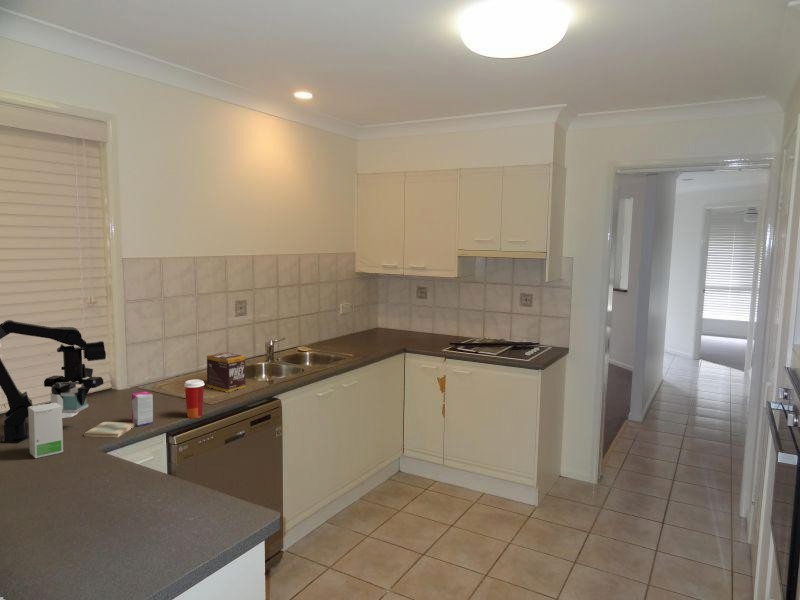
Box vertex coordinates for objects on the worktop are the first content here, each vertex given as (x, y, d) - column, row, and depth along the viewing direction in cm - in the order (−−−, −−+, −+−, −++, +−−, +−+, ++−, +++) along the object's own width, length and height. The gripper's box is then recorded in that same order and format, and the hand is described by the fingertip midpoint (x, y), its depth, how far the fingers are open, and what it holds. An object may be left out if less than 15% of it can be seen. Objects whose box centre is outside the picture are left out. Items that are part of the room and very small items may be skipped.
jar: (47, 416, 211) (46, 386, 209) (69, 410, 218) (67, 381, 216) (60, 420, 206) (59, 389, 205) (82, 414, 213) (80, 384, 212)
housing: (75, 413, 192) (74, 393, 191) (61, 412, 192) (60, 393, 191) (88, 406, 200) (87, 387, 199) (75, 406, 200) (74, 387, 199)
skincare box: (34, 459, 170) (32, 411, 169) (29, 453, 175) (26, 406, 173) (64, 452, 177) (62, 405, 175) (58, 446, 181) (56, 401, 179)
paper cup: (200, 411, 220) (199, 378, 218) (208, 416, 214) (207, 381, 213) (180, 415, 214) (180, 381, 213) (189, 420, 209) (188, 385, 207)
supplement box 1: (153, 423, 205) (152, 393, 204) (137, 426, 201) (136, 397, 200) (147, 419, 209) (146, 390, 208) (131, 423, 205) (130, 393, 204)
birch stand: (117, 437, 190) (117, 433, 190) (84, 436, 191) (84, 432, 190) (135, 425, 202) (135, 422, 202) (104, 424, 202) (104, 421, 202)
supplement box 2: (228, 393, 247) (228, 359, 245) (206, 387, 255) (206, 355, 253) (246, 388, 255) (245, 355, 254) (224, 383, 264) (224, 351, 262)
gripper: (111, 358, 202) (112, 399, 203) (62, 357, 202) (64, 397, 204) (93, 365, 191) (95, 408, 192) (41, 363, 191) (44, 406, 193)
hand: (75, 404), depth 196 cm, fingers closed on housing, 5 cm apart
